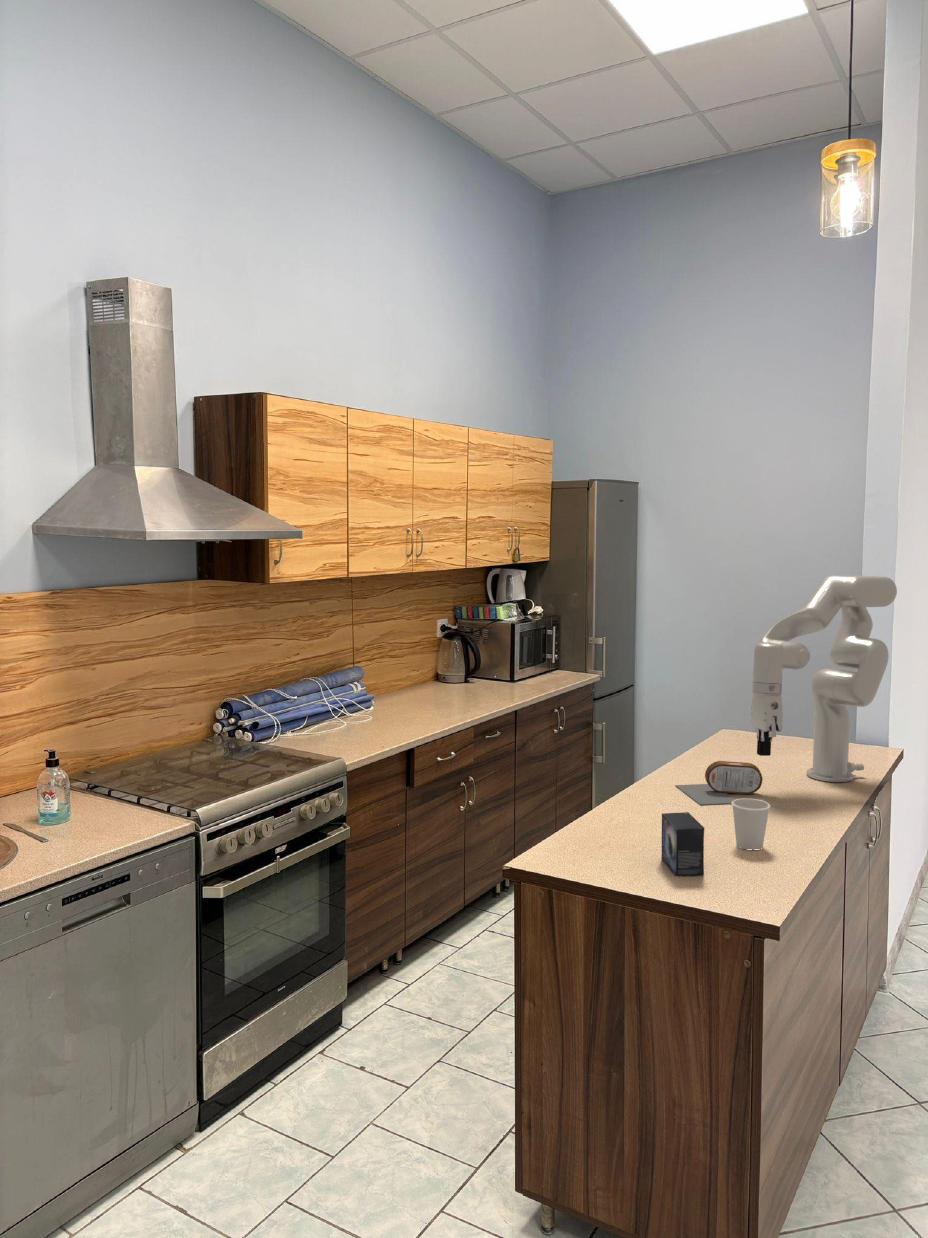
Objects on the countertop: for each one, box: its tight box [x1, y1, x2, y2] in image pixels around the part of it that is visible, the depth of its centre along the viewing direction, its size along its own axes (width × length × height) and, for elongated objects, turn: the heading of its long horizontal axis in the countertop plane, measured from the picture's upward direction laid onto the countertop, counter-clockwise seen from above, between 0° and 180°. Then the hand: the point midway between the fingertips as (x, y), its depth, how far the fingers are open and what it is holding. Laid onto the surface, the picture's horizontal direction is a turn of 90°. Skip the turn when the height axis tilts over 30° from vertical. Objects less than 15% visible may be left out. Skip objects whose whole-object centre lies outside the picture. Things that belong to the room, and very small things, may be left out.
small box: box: [660, 811, 705, 877], centre depth 192 cm, size 11×6×10 cm, turn 5°
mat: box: [674, 783, 736, 806], centre depth 245 cm, size 11×18×1 cm, turn 8°
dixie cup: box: [731, 797, 771, 850], centre depth 204 cm, size 8×8×10 cm
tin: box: [704, 760, 763, 795], centre depth 246 cm, size 15×3×8 cm, turn 84°
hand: (763, 754), depth 246 cm, fingers closed
